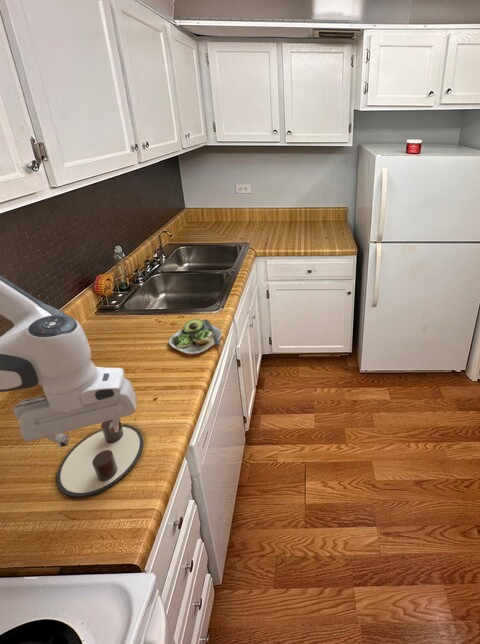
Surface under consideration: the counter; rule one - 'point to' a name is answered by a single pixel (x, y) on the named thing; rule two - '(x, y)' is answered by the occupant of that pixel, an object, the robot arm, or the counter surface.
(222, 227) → the counter surface
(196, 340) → the avocado toast plate
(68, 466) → the board
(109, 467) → the eye puck
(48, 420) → the robot arm
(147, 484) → the counter surface
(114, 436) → the eye puck
